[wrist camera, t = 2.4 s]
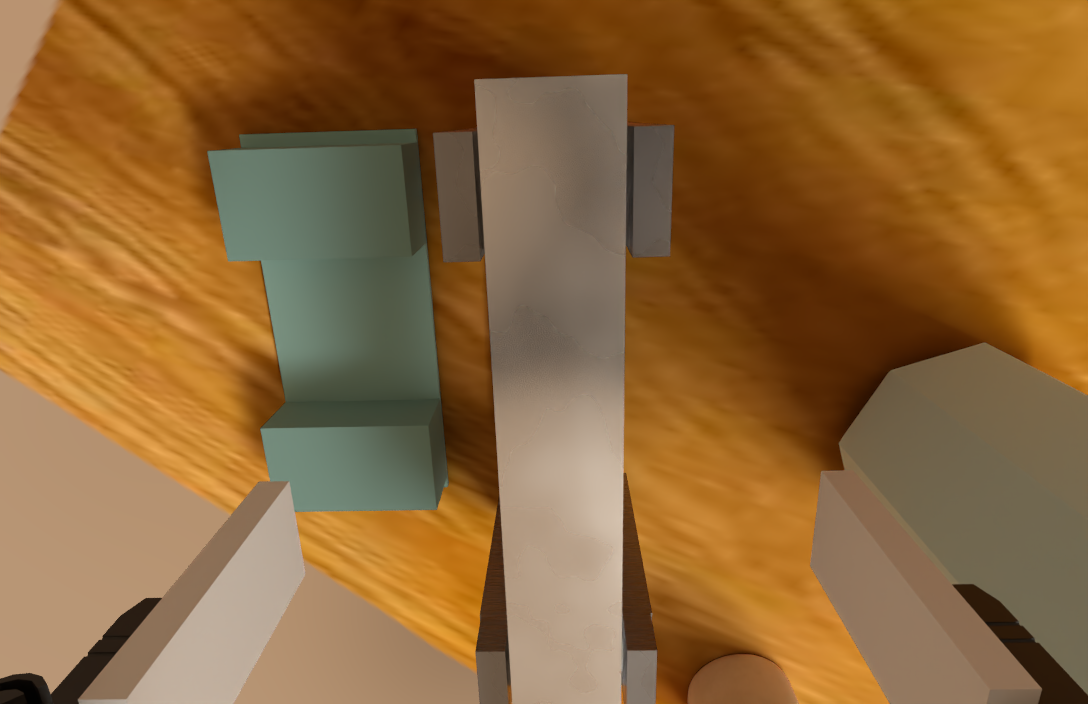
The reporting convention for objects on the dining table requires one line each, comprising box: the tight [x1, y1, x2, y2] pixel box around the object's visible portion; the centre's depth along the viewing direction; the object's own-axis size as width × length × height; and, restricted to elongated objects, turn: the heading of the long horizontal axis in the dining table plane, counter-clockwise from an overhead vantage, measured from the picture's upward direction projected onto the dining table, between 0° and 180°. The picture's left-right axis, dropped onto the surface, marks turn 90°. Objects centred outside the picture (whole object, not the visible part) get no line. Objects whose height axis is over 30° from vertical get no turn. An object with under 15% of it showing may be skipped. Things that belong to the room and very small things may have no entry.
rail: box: [474, 74, 627, 704], centre depth 18 cm, size 20×3×4 cm, turn 2°
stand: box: [433, 122, 674, 704], centre depth 24 cm, size 19×6×12 cm, turn 2°
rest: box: [207, 129, 449, 512], centre depth 28 cm, size 16×7×3 cm, turn 2°
